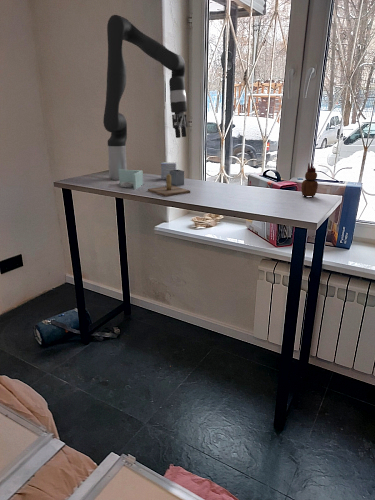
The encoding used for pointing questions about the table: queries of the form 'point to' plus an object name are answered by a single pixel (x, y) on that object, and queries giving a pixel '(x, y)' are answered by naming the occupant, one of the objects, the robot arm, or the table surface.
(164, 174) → the medicine box
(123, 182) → the l-shaped corner panel
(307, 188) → the wooden figurine
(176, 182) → the collar
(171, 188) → the post stand
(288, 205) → the table surface
